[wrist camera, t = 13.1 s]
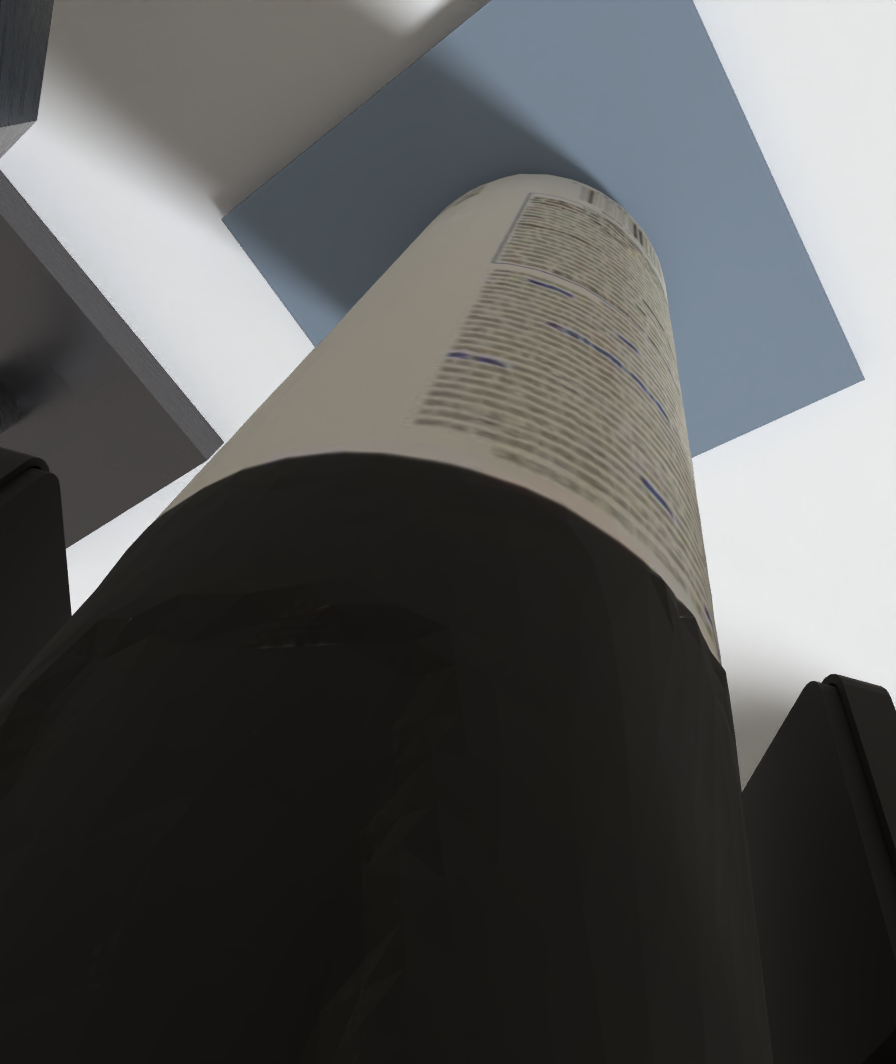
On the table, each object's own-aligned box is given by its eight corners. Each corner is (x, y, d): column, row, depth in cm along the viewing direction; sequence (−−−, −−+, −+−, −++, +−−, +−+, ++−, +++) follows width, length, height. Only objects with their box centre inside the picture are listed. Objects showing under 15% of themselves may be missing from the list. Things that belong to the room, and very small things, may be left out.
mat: (473, 547, 26) (469, 558, 26) (230, 214, 22) (220, 219, 21) (859, 370, 21) (864, 379, 20) (638, -116, 17) (638, -119, 16)
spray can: (388, 181, 20) (-760, 1006, 4) (675, 149, 18) (1017, 1352, 2) (427, 429, 23) (-63, 1434, 7) (671, 419, 22) (784, 1679, 5)
